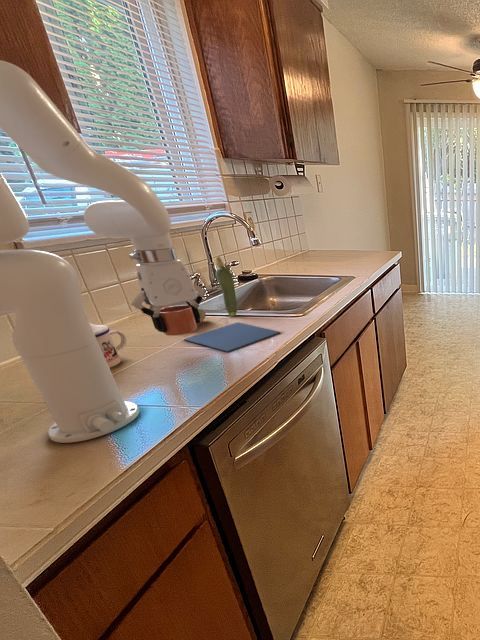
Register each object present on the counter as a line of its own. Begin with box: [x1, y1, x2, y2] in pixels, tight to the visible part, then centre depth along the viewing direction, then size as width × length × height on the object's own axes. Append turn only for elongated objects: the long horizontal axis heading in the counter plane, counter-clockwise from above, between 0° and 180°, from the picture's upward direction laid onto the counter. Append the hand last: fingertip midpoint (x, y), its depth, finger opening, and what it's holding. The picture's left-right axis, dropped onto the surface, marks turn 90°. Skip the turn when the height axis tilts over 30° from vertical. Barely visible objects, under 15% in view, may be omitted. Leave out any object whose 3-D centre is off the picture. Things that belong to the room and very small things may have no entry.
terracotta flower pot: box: [159, 305, 198, 337], centre depth 102 cm, size 7×7×6 cm
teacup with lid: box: [90, 323, 127, 369], centre depth 97 cm, size 12×9×12 cm
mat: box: [183, 322, 281, 353], centre depth 115 cm, size 20×16×1 cm
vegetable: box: [215, 255, 238, 317], centre depth 130 cm, size 4×4×20 cm
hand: (179, 326), depth 102 cm, fingers closed on terracotta flower pot, 7 cm apart
